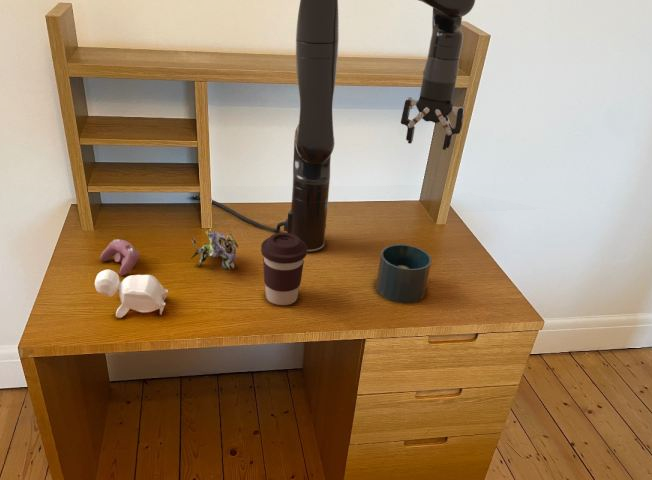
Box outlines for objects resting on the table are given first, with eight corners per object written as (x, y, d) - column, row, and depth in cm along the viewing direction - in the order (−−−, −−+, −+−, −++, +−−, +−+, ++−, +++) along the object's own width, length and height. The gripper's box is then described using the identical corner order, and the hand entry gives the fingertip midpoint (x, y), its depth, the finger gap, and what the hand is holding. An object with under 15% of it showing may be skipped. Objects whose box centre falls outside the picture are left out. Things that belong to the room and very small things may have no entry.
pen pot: (370, 295, 137) (375, 262, 132) (383, 271, 146) (388, 240, 141) (418, 308, 134) (425, 274, 129) (428, 283, 143) (435, 251, 138)
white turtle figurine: (160, 306, 133) (94, 285, 128) (172, 277, 129) (104, 255, 124) (155, 329, 126) (85, 308, 121) (168, 299, 122) (95, 276, 117)
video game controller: (135, 277, 139) (145, 250, 138) (119, 276, 136) (129, 248, 134) (113, 261, 145) (121, 235, 143) (97, 260, 141) (105, 233, 140)
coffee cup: (287, 315, 128) (291, 256, 120) (251, 299, 132) (252, 241, 124) (311, 294, 135) (316, 237, 127) (275, 280, 139) (278, 224, 131)
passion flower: (230, 286, 146) (240, 267, 135) (186, 280, 143) (193, 261, 132) (232, 245, 150) (242, 224, 140) (190, 239, 147) (196, 217, 137)
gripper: (473, 78, 135) (458, 146, 144) (412, 69, 139) (402, 136, 148) (468, 85, 129) (453, 156, 138) (405, 75, 133) (395, 145, 142)
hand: (427, 145), depth 143 cm, fingers open, 8 cm apart
